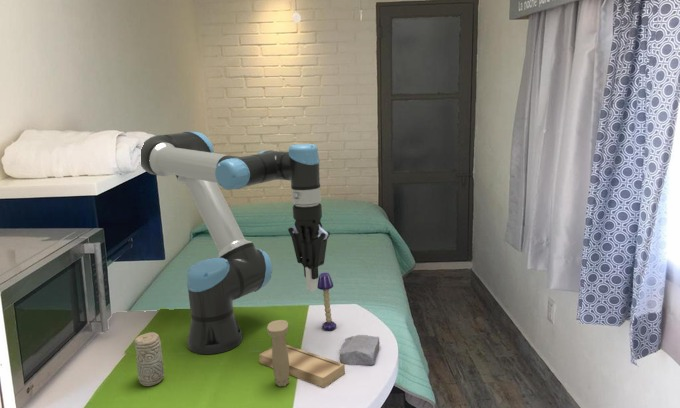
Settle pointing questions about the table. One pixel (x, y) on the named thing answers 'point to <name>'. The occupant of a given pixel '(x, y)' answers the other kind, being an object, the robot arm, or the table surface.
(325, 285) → the toy lamp
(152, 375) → the carving
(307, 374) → the oak board
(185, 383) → the table surface
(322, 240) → the robot arm
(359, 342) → the stone block
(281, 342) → the handle
